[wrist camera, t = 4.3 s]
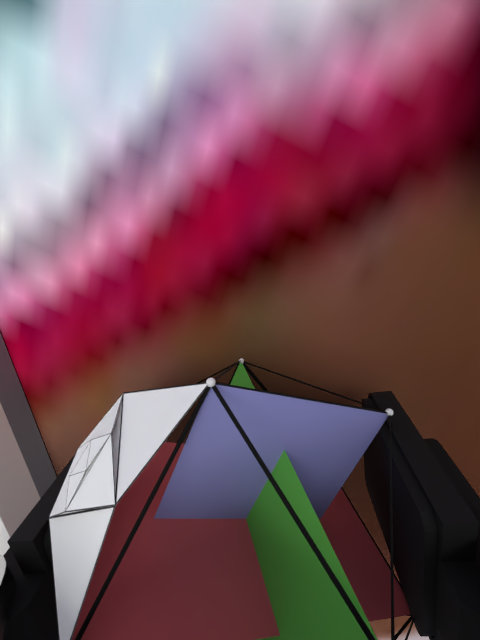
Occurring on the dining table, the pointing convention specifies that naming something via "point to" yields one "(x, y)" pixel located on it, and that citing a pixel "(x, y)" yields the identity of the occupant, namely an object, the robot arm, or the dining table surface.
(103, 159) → the dining table surface
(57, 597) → the geometric puzzle
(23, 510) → the square picture frame
